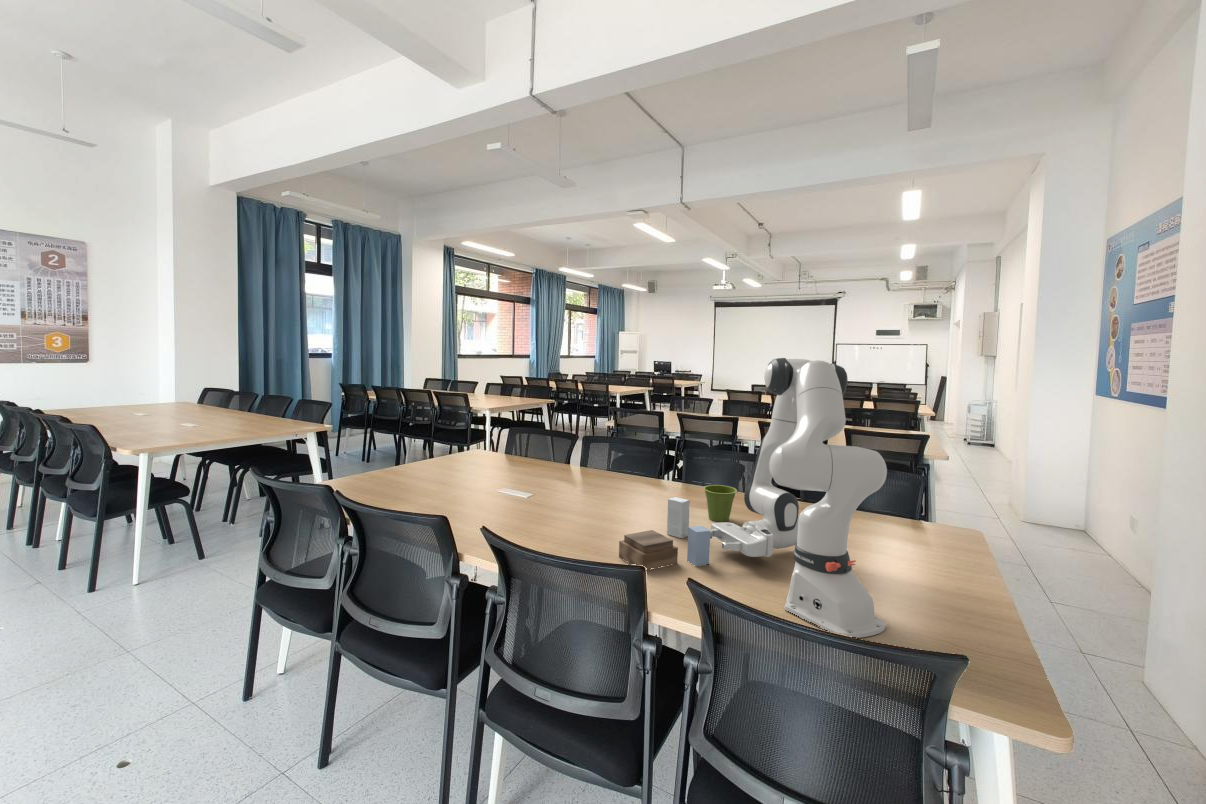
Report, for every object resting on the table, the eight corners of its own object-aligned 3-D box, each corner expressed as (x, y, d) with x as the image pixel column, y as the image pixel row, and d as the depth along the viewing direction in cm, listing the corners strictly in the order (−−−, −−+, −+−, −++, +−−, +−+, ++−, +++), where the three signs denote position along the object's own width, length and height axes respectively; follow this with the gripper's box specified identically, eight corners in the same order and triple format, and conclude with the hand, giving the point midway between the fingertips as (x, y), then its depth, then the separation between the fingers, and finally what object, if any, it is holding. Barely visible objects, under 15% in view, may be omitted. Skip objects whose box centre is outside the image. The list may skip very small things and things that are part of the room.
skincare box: (688, 535, 179) (690, 500, 178) (681, 538, 176) (682, 502, 175) (673, 531, 183) (675, 496, 182) (666, 534, 180) (667, 498, 179)
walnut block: (677, 564, 155) (678, 540, 154) (642, 572, 149) (643, 547, 148) (652, 551, 165) (653, 528, 164) (618, 557, 159) (619, 534, 158)
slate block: (708, 565, 155) (710, 530, 154) (695, 566, 153) (696, 532, 152) (700, 559, 159) (702, 525, 158) (687, 560, 157) (688, 527, 156)
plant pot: (695, 518, 198) (697, 488, 197) (715, 512, 206) (716, 483, 205) (722, 526, 190) (724, 494, 189) (742, 520, 198) (743, 489, 197)
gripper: (734, 515, 172) (696, 519, 167) (776, 536, 153) (734, 541, 148) (733, 535, 172) (695, 539, 167) (775, 558, 153) (733, 564, 148)
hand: (714, 540), depth 157 cm, fingers open, 8 cm apart
